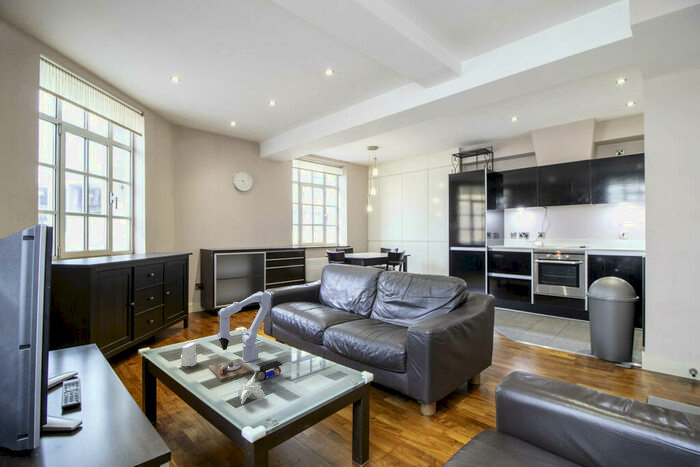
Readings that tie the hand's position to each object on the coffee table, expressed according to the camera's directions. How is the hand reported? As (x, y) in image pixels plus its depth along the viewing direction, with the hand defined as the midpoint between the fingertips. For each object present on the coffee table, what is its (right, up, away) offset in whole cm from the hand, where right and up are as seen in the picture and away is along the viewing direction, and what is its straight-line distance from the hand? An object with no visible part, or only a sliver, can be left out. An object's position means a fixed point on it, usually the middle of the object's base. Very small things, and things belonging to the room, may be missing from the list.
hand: (224, 349), depth 202 cm
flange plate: (+7, -8, -11) cm, 15 cm away
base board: (+7, -9, -9) cm, 14 cm away
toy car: (+32, -10, -19) cm, 39 cm away
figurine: (+30, -9, -43) cm, 53 cm away
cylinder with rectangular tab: (-23, -10, +1) cm, 25 cm away
